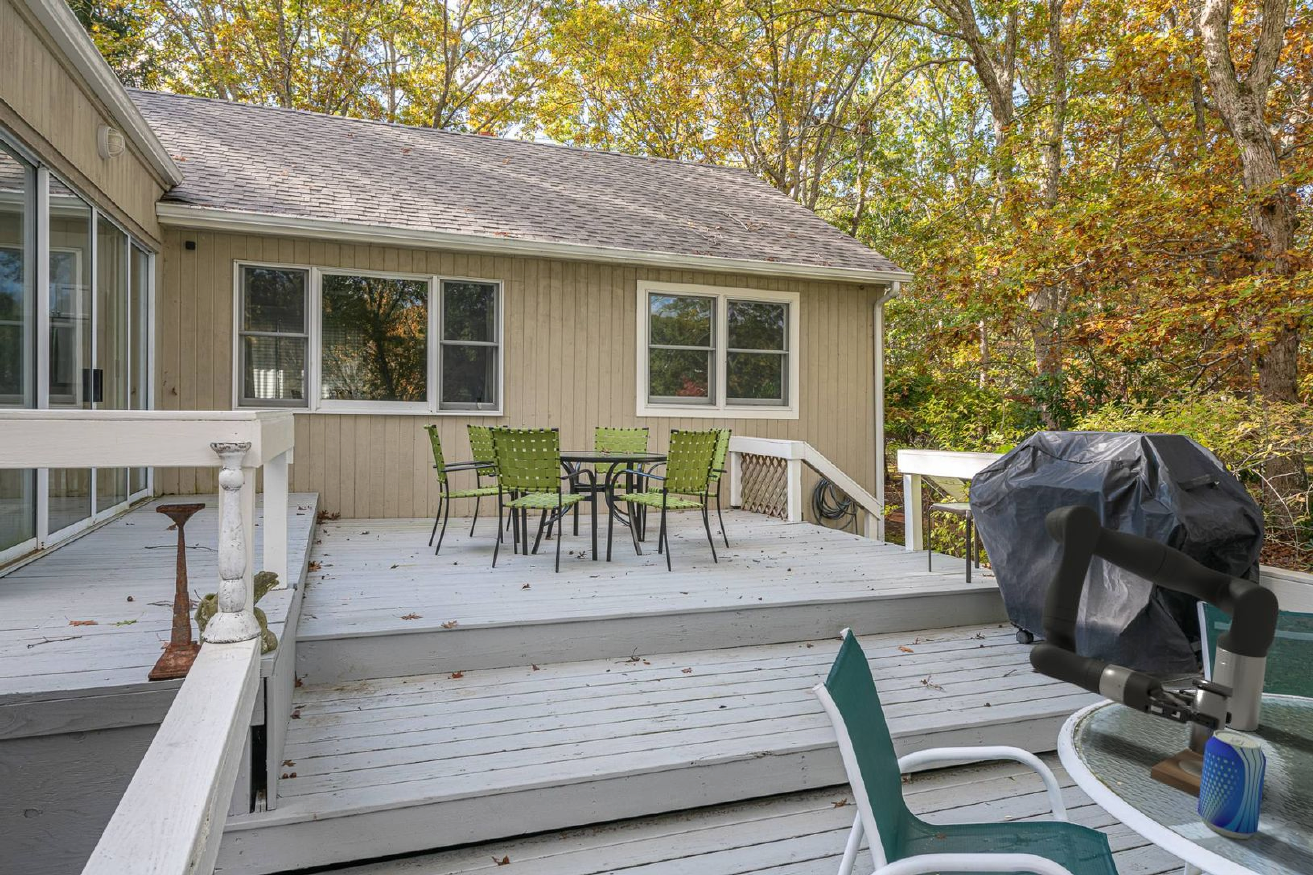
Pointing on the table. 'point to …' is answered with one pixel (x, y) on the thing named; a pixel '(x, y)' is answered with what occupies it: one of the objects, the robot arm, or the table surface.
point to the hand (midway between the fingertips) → (1224, 721)
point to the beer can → (1232, 784)
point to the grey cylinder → (1208, 711)
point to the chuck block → (1181, 771)
